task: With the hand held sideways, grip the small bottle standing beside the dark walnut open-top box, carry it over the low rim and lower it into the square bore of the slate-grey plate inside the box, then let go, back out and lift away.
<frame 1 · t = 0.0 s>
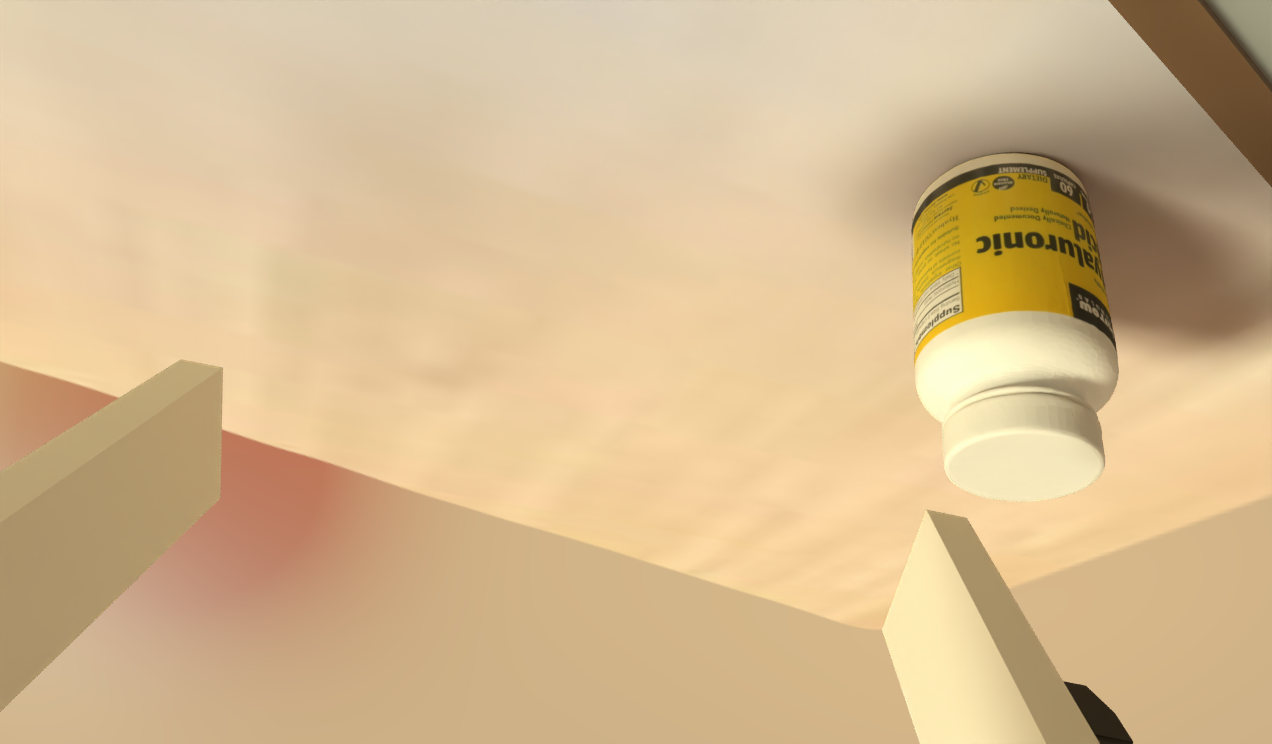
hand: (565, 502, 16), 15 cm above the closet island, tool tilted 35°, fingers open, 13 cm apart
supplement bottle: (995, 204, 28), on the closet island
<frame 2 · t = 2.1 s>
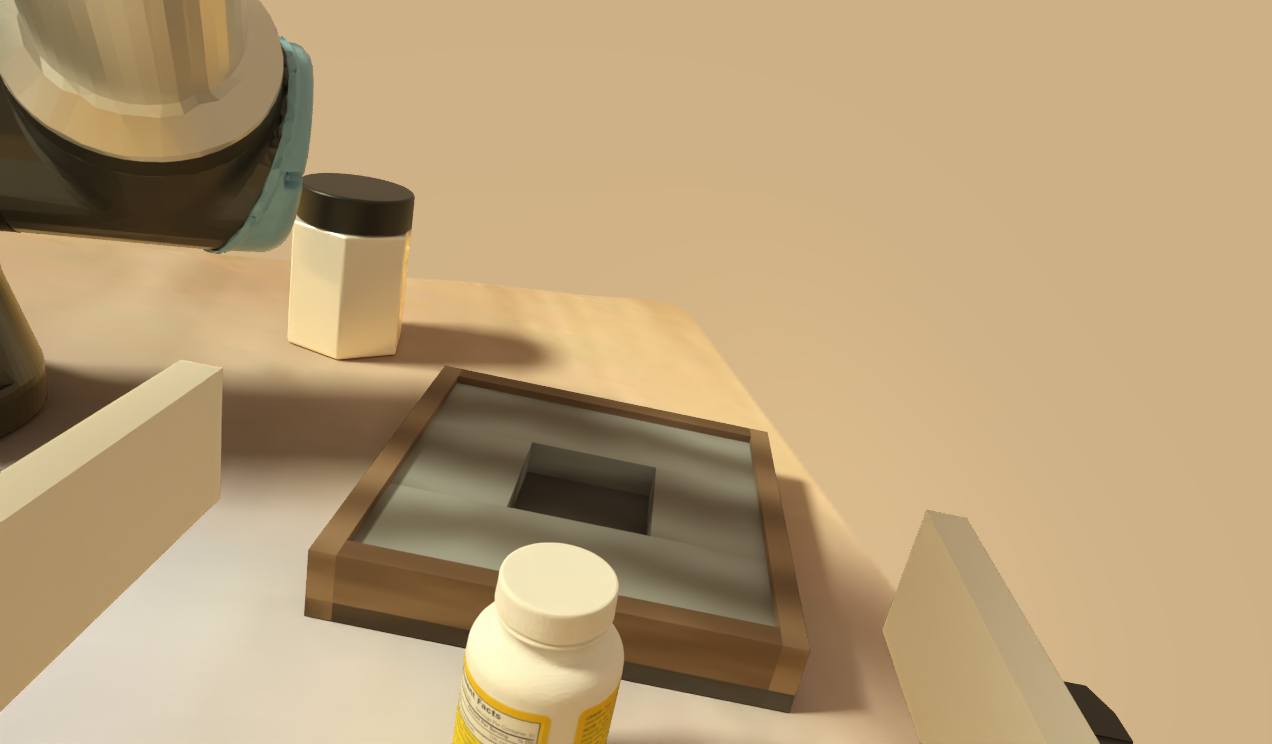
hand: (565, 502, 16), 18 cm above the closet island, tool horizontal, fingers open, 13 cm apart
bore box: (577, 531, 48), on the closet island
jar: (346, 340, 67), on the closet island
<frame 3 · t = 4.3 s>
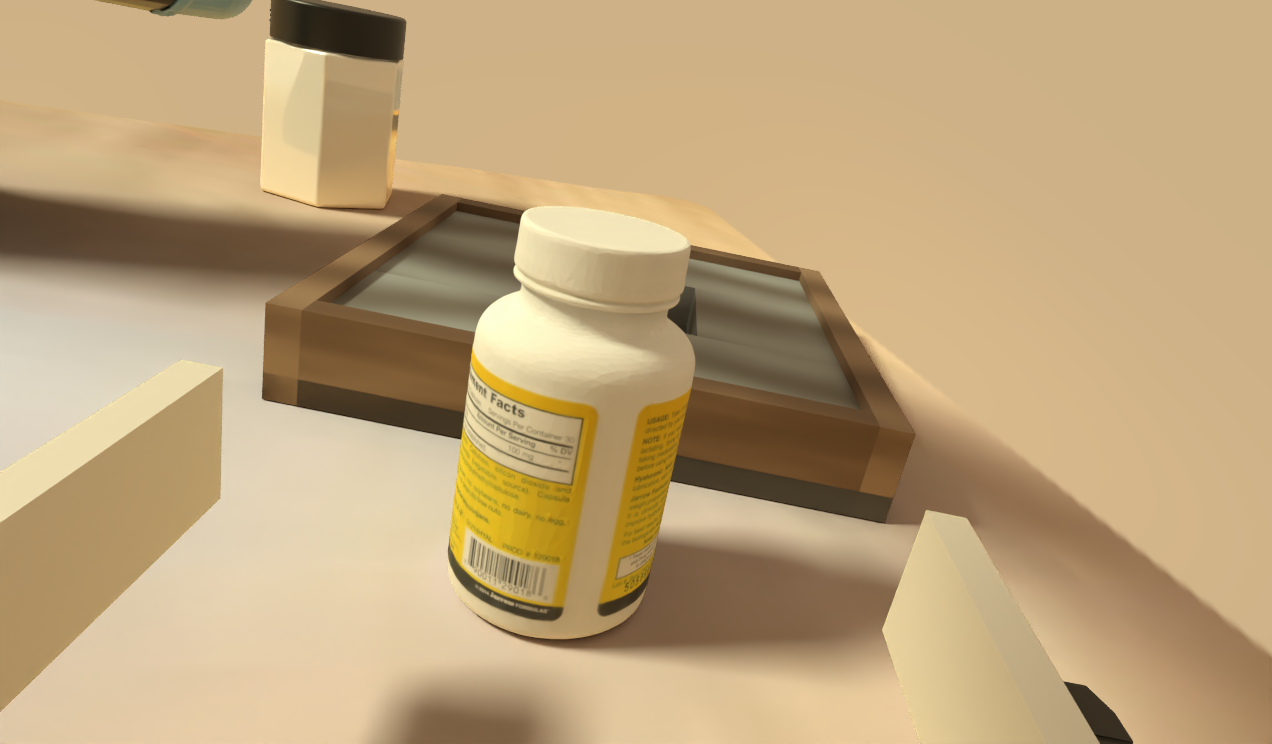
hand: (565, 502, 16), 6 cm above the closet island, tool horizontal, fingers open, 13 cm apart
supplement bottle: (543, 585, 23), on the closet island
bore box: (603, 354, 40), on the closet island
jar: (328, 196, 59), on the closet island
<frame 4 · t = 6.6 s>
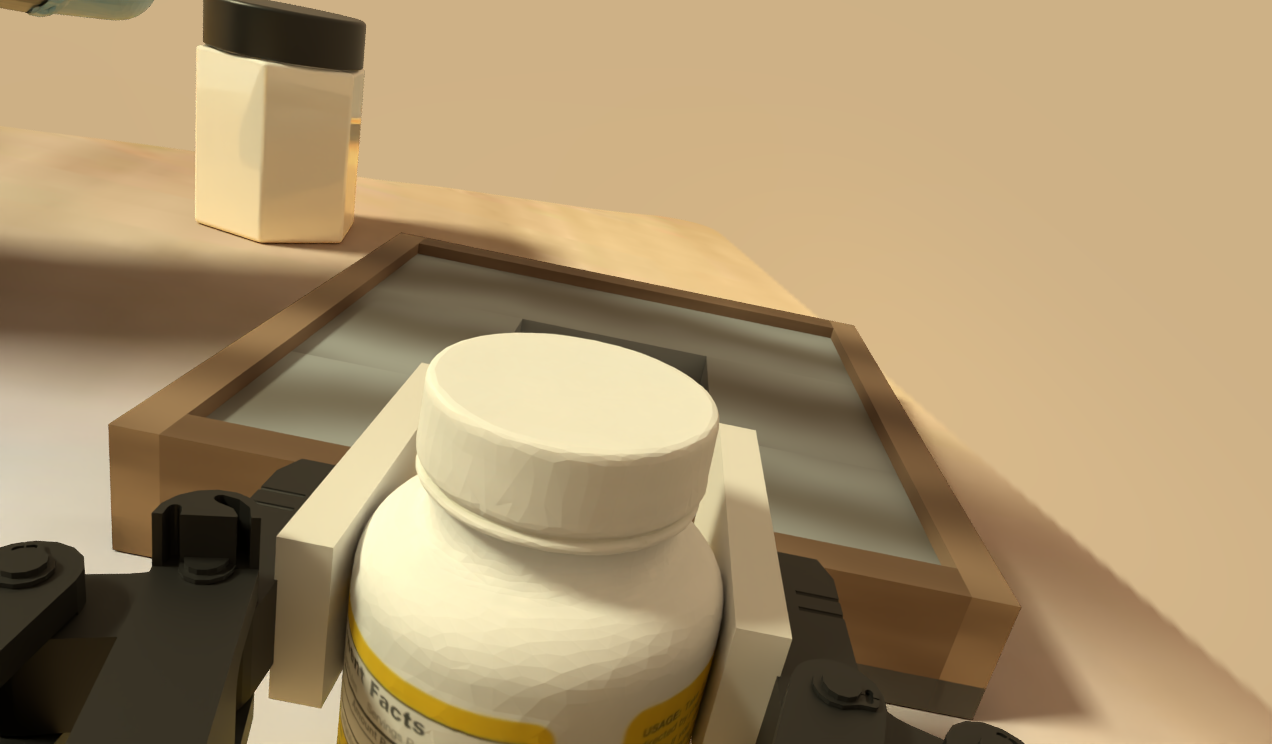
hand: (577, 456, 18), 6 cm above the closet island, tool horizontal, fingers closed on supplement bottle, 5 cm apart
bore box: (591, 444, 32), on the closet island
jar: (278, 227, 50), on the closet island
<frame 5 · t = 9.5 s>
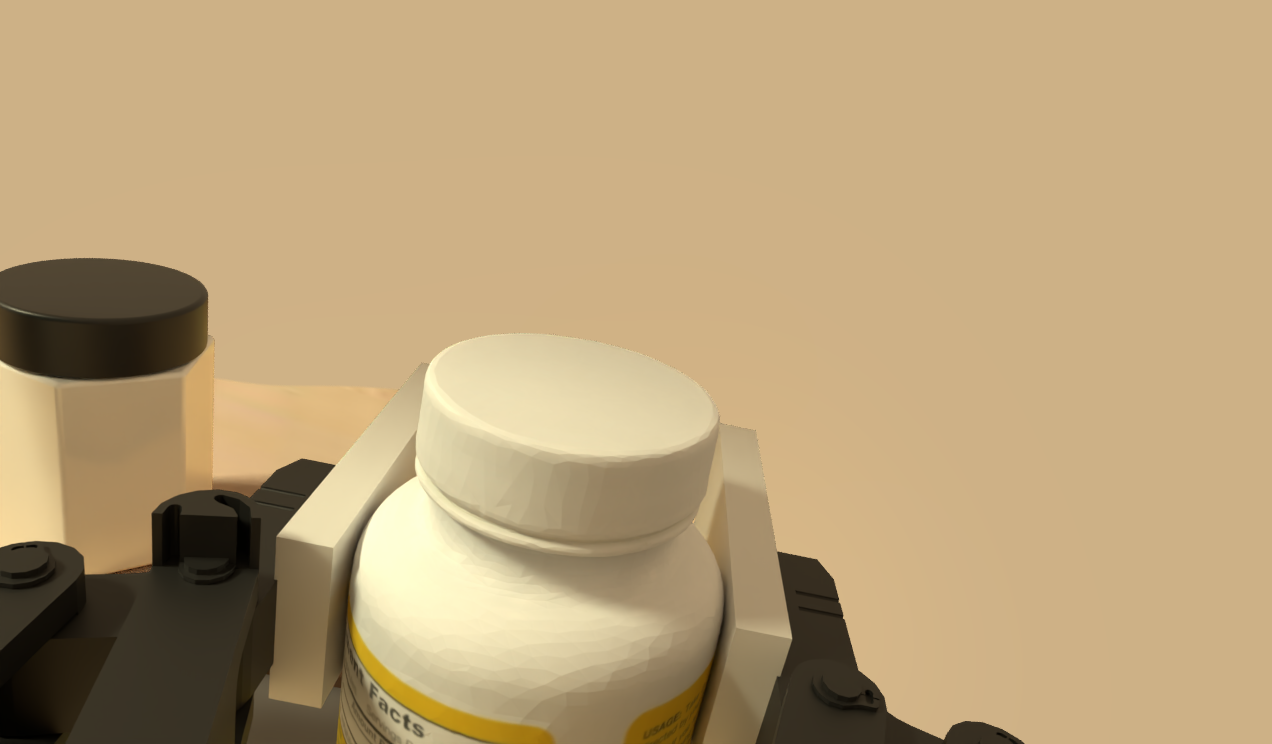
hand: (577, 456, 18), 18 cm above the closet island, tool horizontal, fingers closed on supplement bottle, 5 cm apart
jar: (110, 530, 41), on the closet island
when the fingers open (9 cm above the closet island, at t = 12.4 s): supplement bottle drops 2 cm, resting on bore box.
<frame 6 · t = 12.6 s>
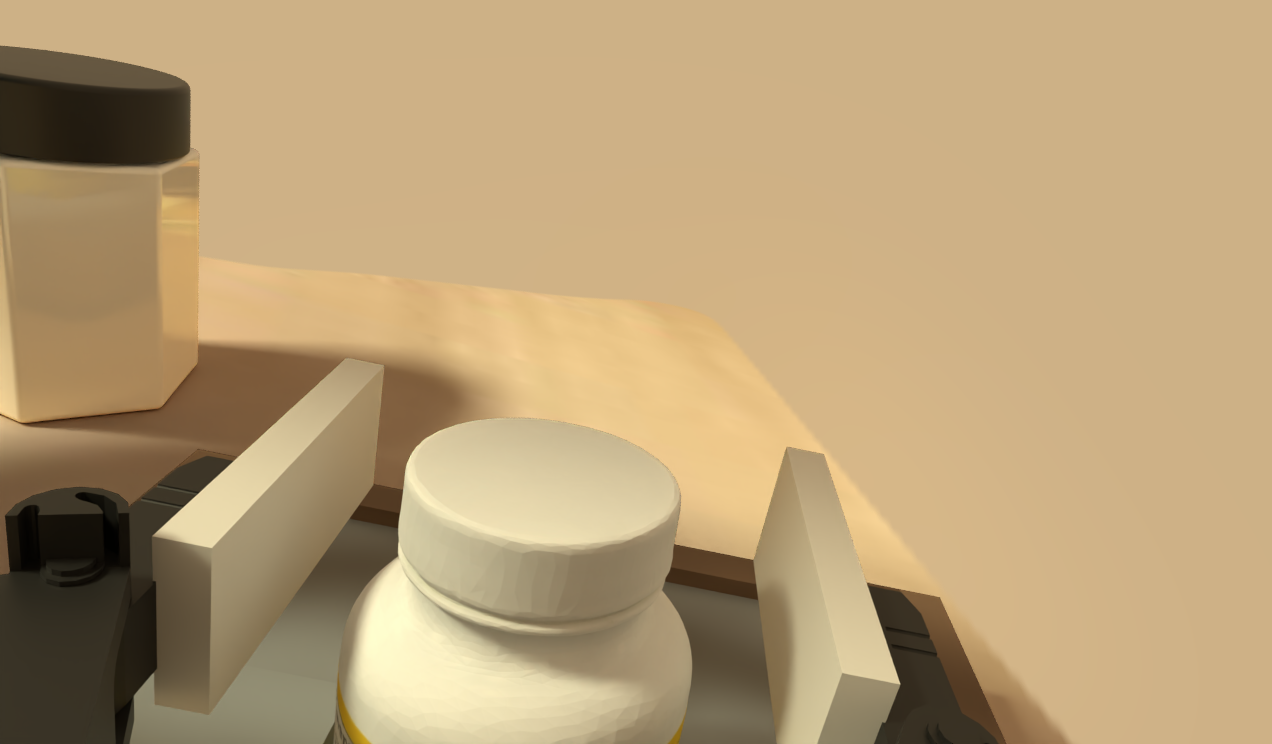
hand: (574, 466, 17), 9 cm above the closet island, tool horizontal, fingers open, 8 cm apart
jar: (76, 380, 35), on the closet island
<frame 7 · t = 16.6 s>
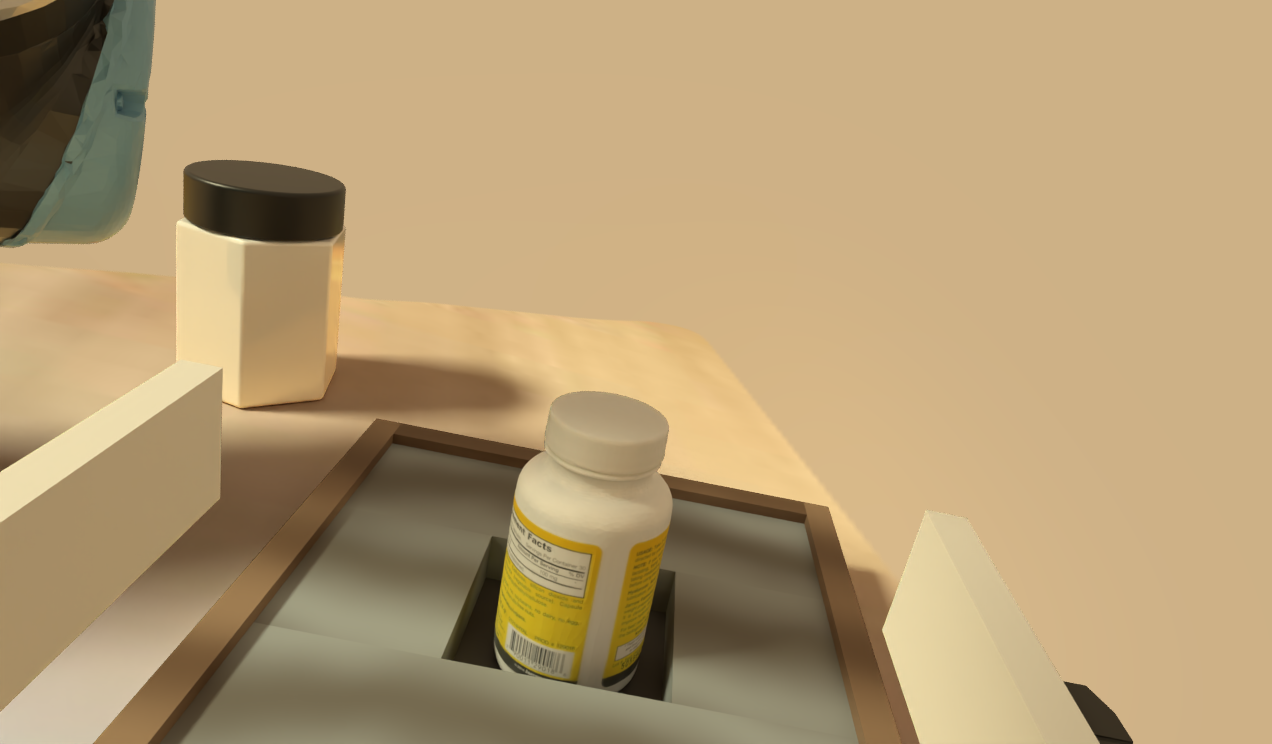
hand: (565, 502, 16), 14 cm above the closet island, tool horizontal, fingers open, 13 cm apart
supplement bottle: (563, 659, 32), point 1 cm above the closet island, touching bore box
bore box: (559, 676, 32), on the closet island
jar: (260, 381, 51), on the closet island
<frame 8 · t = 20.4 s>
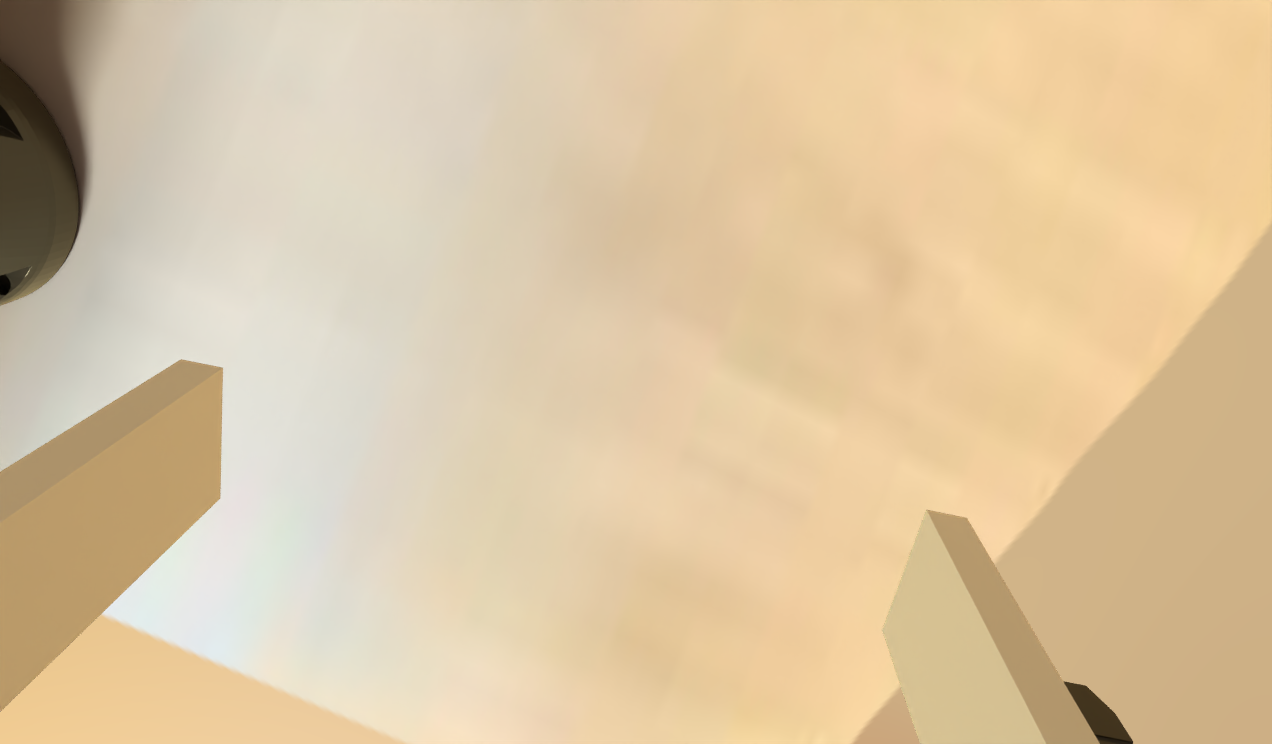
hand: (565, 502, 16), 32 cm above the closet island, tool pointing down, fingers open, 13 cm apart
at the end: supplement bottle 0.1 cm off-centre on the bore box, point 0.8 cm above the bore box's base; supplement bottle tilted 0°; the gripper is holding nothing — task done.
